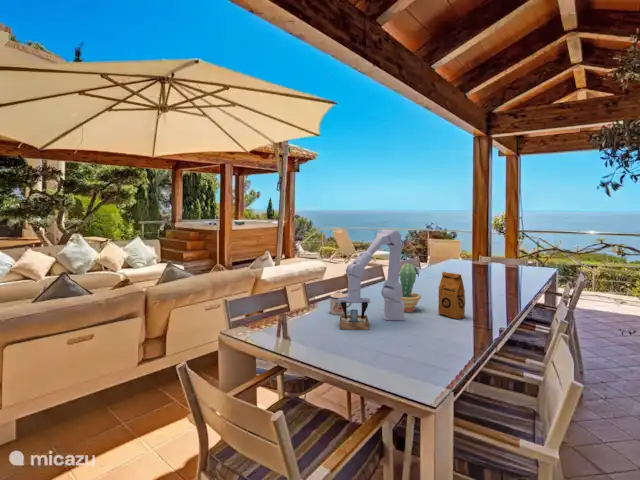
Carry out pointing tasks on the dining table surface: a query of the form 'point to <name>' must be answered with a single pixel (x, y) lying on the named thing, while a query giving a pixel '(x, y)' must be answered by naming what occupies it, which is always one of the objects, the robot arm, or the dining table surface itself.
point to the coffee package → (451, 296)
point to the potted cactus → (409, 286)
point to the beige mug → (335, 306)
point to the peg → (354, 316)
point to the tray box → (361, 325)
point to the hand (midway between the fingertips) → (354, 318)
